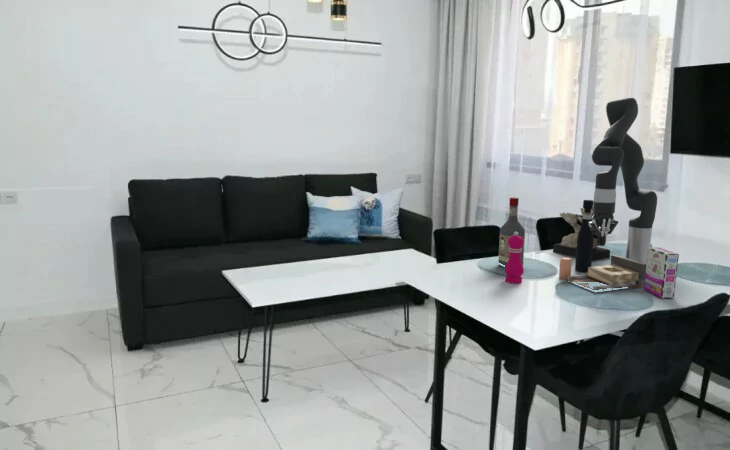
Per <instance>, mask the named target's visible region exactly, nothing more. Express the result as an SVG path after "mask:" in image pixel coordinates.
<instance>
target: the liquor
mask: <svg viewBox="0 0 730 450" xmlns="http://www.w3.org/2000/svg"><path fill="white" fill-rule="evenodd" d="M518 210H519V198H518V197H510V198H509V212H508V218H507V219H508V220H507V221H506V222H505V223H504V224H502V226H501V227H500V229H499V238H498V239H499V241H498V242H499V244H498V262H499V263H501V264H503V265H505V266H506V264H507V262H508V260H509V255H510V251H509V247H510V246H509V245H508V239H509V237H511V236H513V235H514V232H518V236H520V237H522V238H523V241H524V244H523V246H522V247H521V248H522V252H521V254H520V258H521V262H522V265H523V266H524V260H525V259H524V257H525V256H524V255H525V244H526V243H525V242H526V241H525V239H526V230H525V227H524V226H523V225H522V224H521V222H520V221H519V218H518V216H519V215H518V213H519V211H518Z"/></svg>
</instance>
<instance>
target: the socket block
mask: <svg viewBox="0 0 730 450" xmlns="http://www.w3.org/2000/svg"><path fill="white" fill-rule="evenodd" d="M587 274H588V278H590V279H593V280H595V281H598V282H601V283H603V284H606V285H609V284H618V283H626V282H635V284H637V283H638V275H639V272H636V271H632V270H629V269H626V268H623V267H620V266H617V265H611V264H606V265H597V266H592V267H588V273H587Z"/></svg>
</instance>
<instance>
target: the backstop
mask: <svg viewBox="0 0 730 450" xmlns="http://www.w3.org/2000/svg"><path fill="white" fill-rule="evenodd" d="M610 265H617V266H620V267H623V268H626V269H629V270H632V271H636V272H639V275H638V283H637V284H635V282H626V283H618V284H609V285H600V286H593V289H592V288H590V286H587V285H589V284H588V283H577V282H598V281H595V280H593V279H590V278H588V273H585V274H578V275H571V276H568V279H566V280H565V282H566V281H570V282H576V283H577V284H579V285H582V286H584V287H587V288H590V289H592V290H599V289H603V290H604V289H607V288H612V289H613V288H622V287H628V288H633V289H639V288H640V289H641V288H644V284H645V274H646V264H645V263H641V262H638V261H635V260H631V259H628V258H626V256H625V257H624V256H620V255H618V254H610ZM599 283H601V282H599ZM633 289H632V290H633Z"/></svg>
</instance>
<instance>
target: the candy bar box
mask: <svg viewBox="0 0 730 450" xmlns="http://www.w3.org/2000/svg"><path fill="white" fill-rule="evenodd" d="M679 256H680V254H679V253H677V252H673V251H671V250H667V249H665V248H663V247H652V248H648V255H647V264H646V274H645V284H644V287H643V290H644V291H645V292H647V293H650V294H652V295H654V296H655V297H658V298H660V299H670V300H671V299H675V291H676V283H677V276H678V275H677V274H678V265H679V258H680V257H679Z"/></svg>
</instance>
